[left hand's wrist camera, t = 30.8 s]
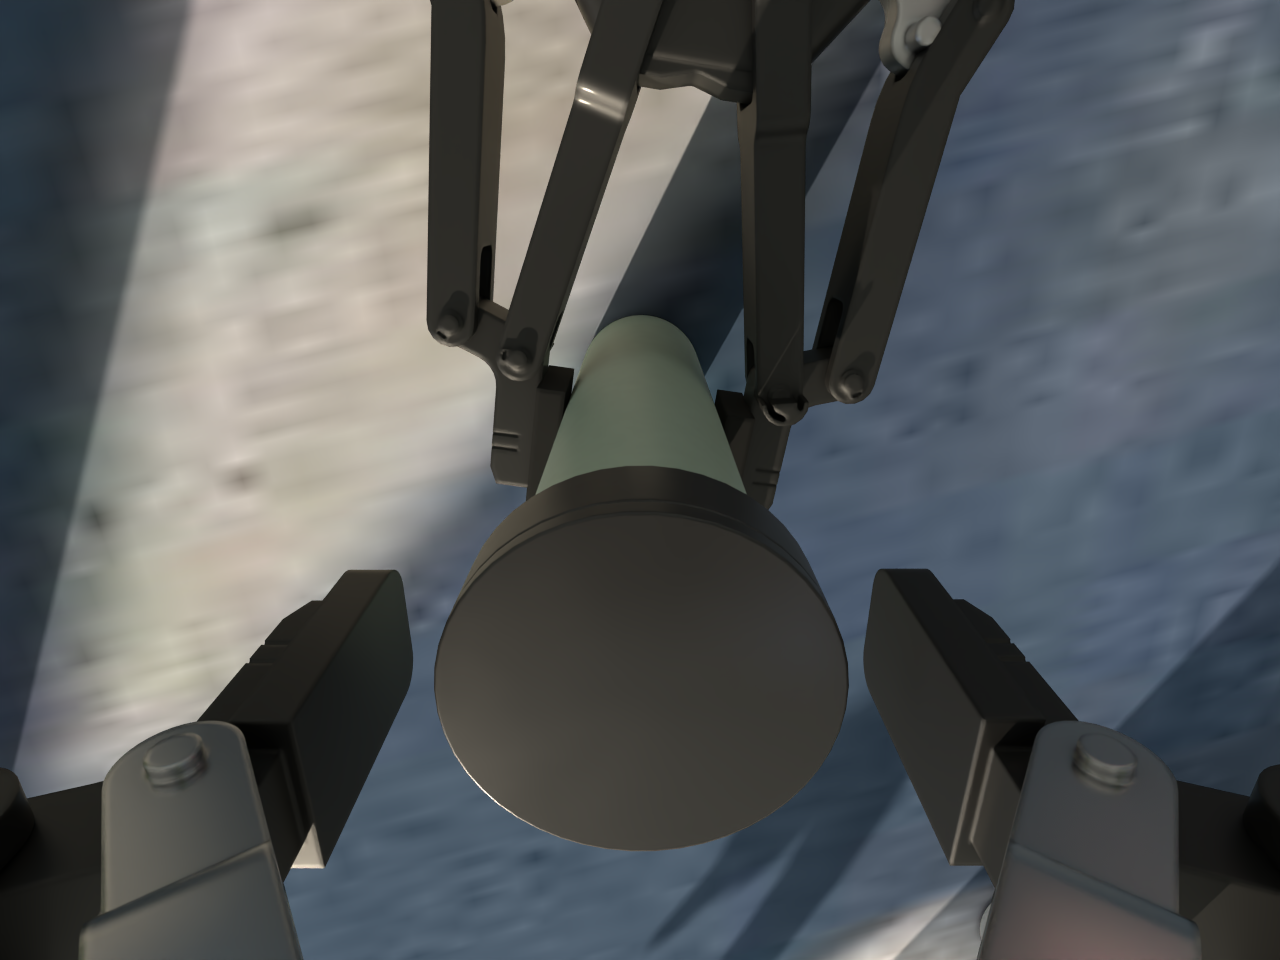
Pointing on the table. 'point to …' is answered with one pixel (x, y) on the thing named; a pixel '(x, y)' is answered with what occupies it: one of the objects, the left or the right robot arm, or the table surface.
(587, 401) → the pale green cylinder
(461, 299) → the right robot arm
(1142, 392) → the table surface
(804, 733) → the lid
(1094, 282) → the table surface
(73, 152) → the table surface
